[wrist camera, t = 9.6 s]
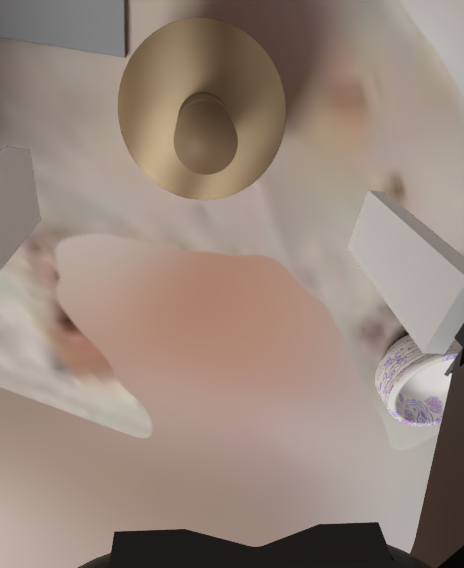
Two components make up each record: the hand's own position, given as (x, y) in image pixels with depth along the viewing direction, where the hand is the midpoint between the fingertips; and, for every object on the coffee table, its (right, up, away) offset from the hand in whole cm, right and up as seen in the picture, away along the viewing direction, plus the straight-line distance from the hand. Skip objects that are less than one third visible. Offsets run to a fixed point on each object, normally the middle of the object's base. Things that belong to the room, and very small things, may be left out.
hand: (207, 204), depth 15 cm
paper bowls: (+29, -14, +42) cm, 53 cm away
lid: (-1, +10, +15) cm, 18 cm away
